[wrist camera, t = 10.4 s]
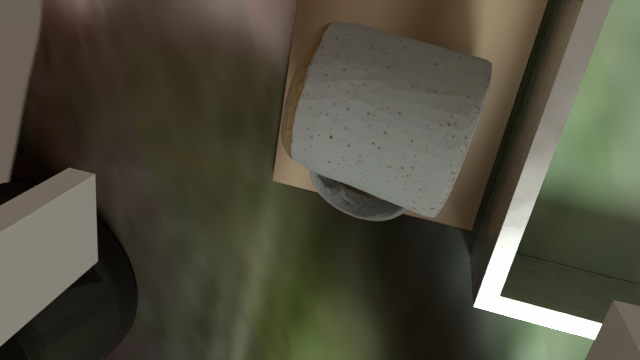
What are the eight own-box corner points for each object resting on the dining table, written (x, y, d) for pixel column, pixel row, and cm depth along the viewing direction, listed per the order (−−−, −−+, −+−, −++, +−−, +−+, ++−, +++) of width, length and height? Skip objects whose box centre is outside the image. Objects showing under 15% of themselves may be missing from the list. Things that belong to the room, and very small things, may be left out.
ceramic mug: (334, 5, 27) (293, 24, 20) (490, 48, 26) (504, 84, 19) (292, 184, 31) (248, 249, 25) (424, 226, 30) (416, 306, 24)
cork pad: (275, 177, 32) (272, 180, 31) (308, -52, 27) (305, -52, 26) (470, 226, 30) (471, 230, 30) (547, -7, 25) (550, -6, 24)
